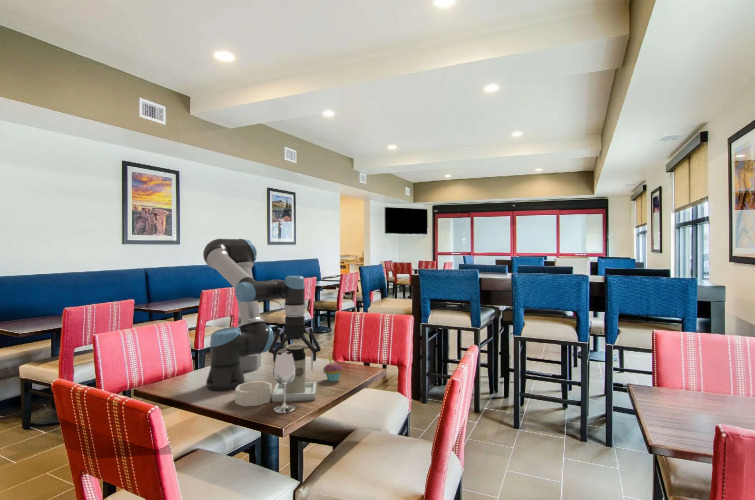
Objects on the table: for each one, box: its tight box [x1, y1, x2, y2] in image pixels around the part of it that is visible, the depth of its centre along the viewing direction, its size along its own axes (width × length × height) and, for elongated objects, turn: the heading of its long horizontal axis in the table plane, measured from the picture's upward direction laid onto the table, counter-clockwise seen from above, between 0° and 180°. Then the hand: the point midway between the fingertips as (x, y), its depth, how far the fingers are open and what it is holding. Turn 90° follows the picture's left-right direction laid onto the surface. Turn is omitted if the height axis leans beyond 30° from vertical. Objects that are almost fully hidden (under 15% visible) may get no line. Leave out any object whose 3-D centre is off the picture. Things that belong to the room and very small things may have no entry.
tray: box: [271, 381, 317, 403], centre depth 163 cm, size 16×14×2 cm
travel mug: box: [285, 343, 307, 394], centre depth 163 cm, size 8×8×18 cm
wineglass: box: [272, 350, 296, 414], centre depth 148 cm, size 8×8×20 cm
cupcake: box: [323, 352, 344, 382], centre depth 181 cm, size 9×8×12 cm
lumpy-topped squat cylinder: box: [240, 353, 262, 372], centre depth 200 cm, size 10×13×9 cm
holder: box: [234, 380, 273, 407], centre depth 157 cm, size 13×13×5 cm
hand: (295, 370), depth 163 cm, fingers open, 13 cm apart
